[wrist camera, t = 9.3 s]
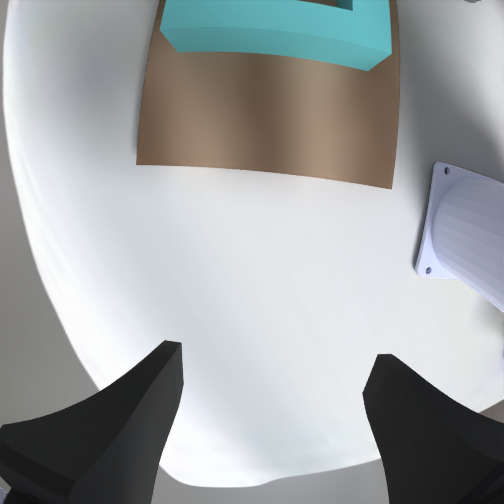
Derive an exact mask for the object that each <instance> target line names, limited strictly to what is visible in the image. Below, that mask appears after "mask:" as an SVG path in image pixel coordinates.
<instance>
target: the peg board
mask: <svg viewBox="0 0 504 504" xmlns="http://www.w3.org/2000/svg"><path fill="white" fill-rule="evenodd" d="M297 1H304V2H311V3H317V4H322V5H327V6H332V7H337V0H297ZM165 4H166V0H160V2H159V6H158V10H157V14H156V19H155V23H154V28H153V33H152V38H151V43H150V49H149V54H148V60H147V66H146V73H145V79H144V87H143V94H142V102H141V111H140V121H139V132H138V145H137V161H136V165H166V166H193V167H211V168H227V169H240V170H252V171H263V172H273V173H283V174H292V175H300V176H308V177H316V178H323V179H331V180H337V181H344V182H351V183H357V184H363V185H369V186H375V187H380V188H386V189H391V190H392V183H393V175H394V167H395V157H396V147H397V135H398V120H399V98H400V48H399V28H398V14H397V4H396V0H389V10H390V24H391V49H392V54H391V55H389V56H388V57H386V58H385V59H384V60H382V61H381V62H380V63H378V64H377V65H376V66H374V67H373V68H372V69H370V70H369V71H365V70H361V69H356V68H352V67H348V66H343V65H338V64H333V63H328V62H322V61H317V60H310V59H304V58H297V57H289V56H281V55H271V54H260V53H244V52H177V51H176V49H175V48H174V47H173V46H172V44H171V43H170V42H169V41H168V39H167V38H166V37H165V36H164V35H163V33H162V32H161V31H160V26H161V21H162V17H163V12H164V8H165Z"/></svg>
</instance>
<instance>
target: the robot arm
mask: <svg viewBox="0 0 504 504" xmlns="http://www.w3.org/2000/svg"><path fill="white" fill-rule="evenodd" d="M445 168H446V169H447V173H446V174H445V172H444V170H445ZM428 267H429V270H428V271H427V272H426V269H427V268H428ZM415 272H416V274H417V275H418V276H421V277H432V278H446V279H459V280H461V281H462V282H464V283H465V284H466V285H468V286H469V287H471V288H472V289H473V290H475V291H476V292H477V293H479V294H480V295H481V296H483V297H484V298H485V299H486V300H488V301H489V302H490V303H492V304H493V305H494V306H495V307H497V308H498V309H499V310H501V311H502V312H503V313H504V183H501V182H499V181H496V180H494V179H491V178H488V177H486V176H483V175H480V174H477V173H474V172H471V171H469V170H466V169H463V168H459V167H456V166H453V165H450V164H447V163H443V162H436V163H435V164H434V167H433V175H432V183H431V190H430V197H429V204H428V210H427V216H426V221H425V226H424V231H423V236H422V241H421V246H420V250H419V255H418V259H417V263H416V267H415ZM183 385H184V382H183V365H182V344H181V343H180V342H173V341H166V340H165V341H163V342H162V343H161V344H160V345H159V346H158V347H156V348H155V349H154V350H153V351H152V352H151V353H150V354H149V355H147V356H146V357H145V358H144V359H143V360H142V361H140V362H139V363H138V364H137V365H136V366H134V367H133V368H132V369H131V370H129V371H128V372H127V373H126V374H124V375H123V376H122V377H120V378H119V379H117V380H116V381H115V382H113V383H112V384H110V385H109V386H107V387H106V388H104V389H103V390H101V391H100V392H98V393H96V394H94V395H93V396H91V397H89V398H87V399H85V400H83V401H81V402H79V403H77V404H74V405H72V406H70V407H68V408H65V409H63V410H60V411H58V412H55V413H52V414H49V415H46V416H42V417H40V418H35V419H32V420H27V421H22V422H17V423H11V424H5V425H3V426H2V427H1V428H0V476H1V477H2V479H4V481H5V482H6V483H7V484H8V485H9V486H10V487H11V490H10V491H9V493H7V492H6V491H5V490H4V489H2V488H1V487H0V504H151V500H152V495H153V489H154V484H155V479H156V475H157V470H158V465H159V462H160V458H161V455H162V452H163V449H164V446H165V444H166V441H167V438H168V435H169V433H170V430H171V427H172V424H173V422H174V419H175V416H176V413H177V410H178V407H179V403H180V399H181V394H182V390H183ZM362 394H363V399H364V405H365V410H366V414H367V418H368V421H369V423H370V426H371V429H372V432H373V435H374V438H375V441H376V444H377V447H378V449H379V452H380V455H381V458H382V462H383V466H384V470H385V475H386V481H387V487H388V495H389V504H504V423H501V422H498V421H495V420H493V419H490V418H488V417H485V416H483V415H481V414H479V413H476V412H474V411H472V410H470V409H469V408H467V407H465V406H463V405H461V404H460V403H458V402H456V401H455V400H453V399H452V398H450V397H449V396H447V395H446V394H444V393H443V392H441V391H440V390H438V389H437V388H436V387H434V386H433V385H432V384H430V383H429V382H428V381H426V380H425V379H424V378H422V377H421V376H420V375H419V374H417V373H416V372H415V371H414V370H412V369H411V368H410V367H409V366H407V365H406V364H405V363H403V362H402V361H401V360H399V359H398V358H397V357H395V356H394V355H392V354H378V355H377V358H376V360H375V363H374V366H373V368H372V371H371V373H370V376H369V378H368V381H367V383H366V386H365V388H364V391H363V393H362Z"/></svg>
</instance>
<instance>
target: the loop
mask: <svg viewBox="0 0 504 504" xmlns="http://www.w3.org/2000/svg"><path fill="white" fill-rule="evenodd" d="M160 31H161V32H162V33H163V35H164V36H165V37H166V38H167V39H168V41H169V42H170V43H171V44H172V46H173V47H174V48H175V49H176V51H177V52H244V53H260V54H271V55H281V56H289V57H297V58H304V59H310V60H317V61H322V62H328V63H333V64H338V65H343V66H348V67H352V68H356V69H361V70H365V71H369V70H370V69H372V68H373V67H374V66H376V65H377V64H378V63H380V62H381V61H382V60H384V59H385V58H386V57H388V56H389V55H391V54H392V49H391V24H390V10H389V0H337V7H332V6H327V5H322V4H317V3H311V2H304V1H297V0H166V4H165V8H164V12H163V17H162V21H161V26H160Z"/></svg>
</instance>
